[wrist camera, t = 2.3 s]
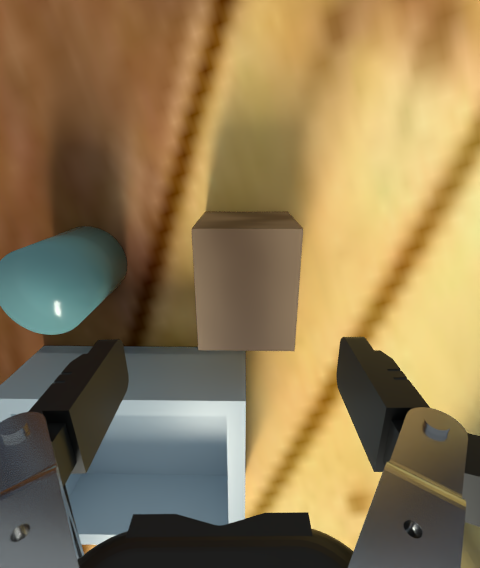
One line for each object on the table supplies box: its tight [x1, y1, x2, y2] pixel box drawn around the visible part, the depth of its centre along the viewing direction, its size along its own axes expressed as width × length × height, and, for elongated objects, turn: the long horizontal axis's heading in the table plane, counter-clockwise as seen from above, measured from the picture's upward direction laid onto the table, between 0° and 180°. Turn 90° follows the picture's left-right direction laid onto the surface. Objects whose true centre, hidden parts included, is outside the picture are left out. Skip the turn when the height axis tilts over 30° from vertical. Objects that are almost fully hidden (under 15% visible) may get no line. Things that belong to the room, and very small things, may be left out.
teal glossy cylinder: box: [0, 226, 127, 335], centre depth 20 cm, size 5×5×6 cm
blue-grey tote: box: [0, 346, 246, 545], centre depth 25 cm, size 16×14×6 cm
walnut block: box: [192, 212, 303, 351], centre depth 20 cm, size 6×7×6 cm
